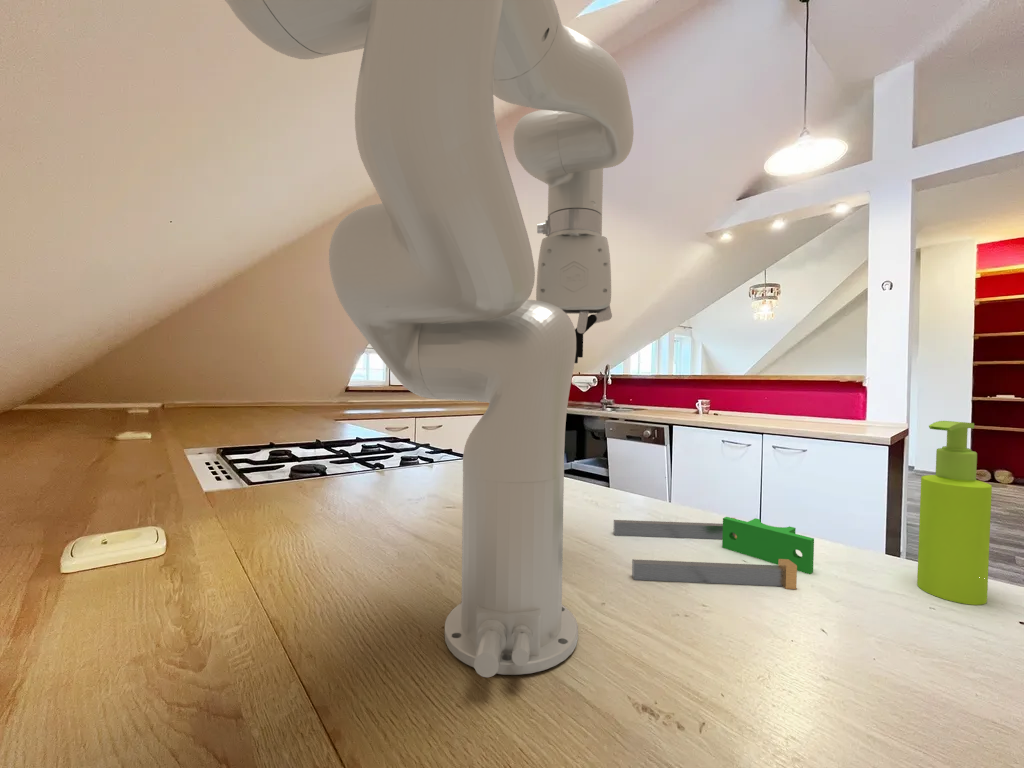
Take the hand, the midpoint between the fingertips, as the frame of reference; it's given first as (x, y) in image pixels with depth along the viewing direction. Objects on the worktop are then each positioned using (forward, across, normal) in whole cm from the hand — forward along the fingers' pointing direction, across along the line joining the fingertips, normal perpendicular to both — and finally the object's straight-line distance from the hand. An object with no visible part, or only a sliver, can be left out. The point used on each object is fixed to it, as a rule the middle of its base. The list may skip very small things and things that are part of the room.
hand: (571, 362), depth 64 cm
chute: (+26, +16, 0) cm, 31 cm away
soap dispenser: (+26, +44, -7) cm, 52 cm away
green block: (+27, +28, +2) cm, 38 cm away
